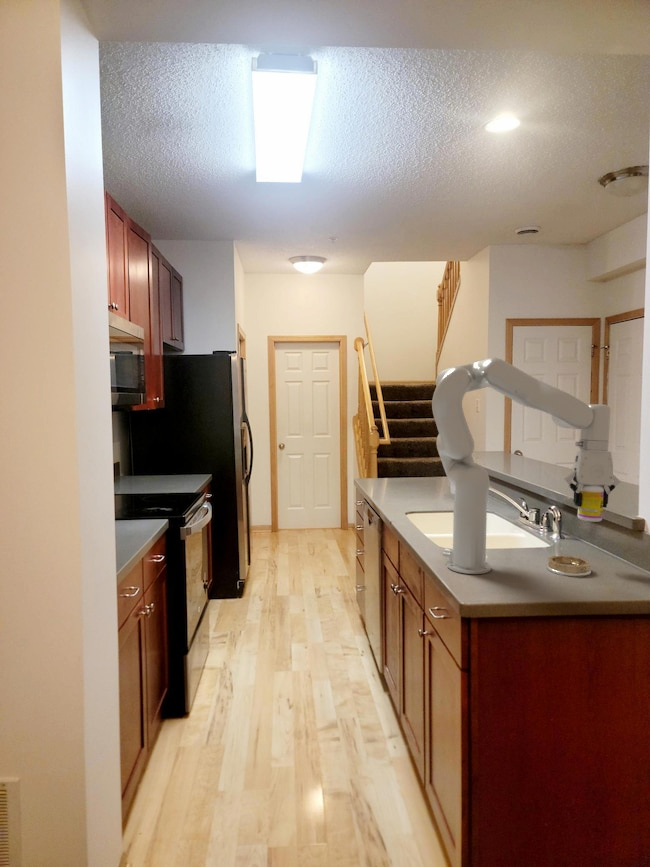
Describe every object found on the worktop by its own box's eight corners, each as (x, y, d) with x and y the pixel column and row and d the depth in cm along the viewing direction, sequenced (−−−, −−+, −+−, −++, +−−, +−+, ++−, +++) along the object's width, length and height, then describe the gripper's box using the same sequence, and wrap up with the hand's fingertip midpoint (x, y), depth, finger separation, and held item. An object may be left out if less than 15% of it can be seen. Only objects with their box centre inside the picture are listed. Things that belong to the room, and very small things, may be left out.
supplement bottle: (603, 523, 158) (606, 479, 158) (578, 520, 161) (580, 477, 160) (600, 518, 165) (603, 476, 164) (576, 516, 167) (578, 474, 166)
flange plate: (539, 569, 162) (539, 560, 162) (557, 561, 170) (557, 552, 170) (580, 579, 153) (581, 569, 153) (597, 570, 161) (597, 561, 161)
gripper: (569, 446, 158) (566, 507, 159) (630, 448, 157) (626, 509, 158) (559, 444, 165) (555, 502, 166) (617, 446, 165) (613, 504, 166)
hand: (590, 505), depth 162 cm, fingers closed on supplement bottle, 6 cm apart
